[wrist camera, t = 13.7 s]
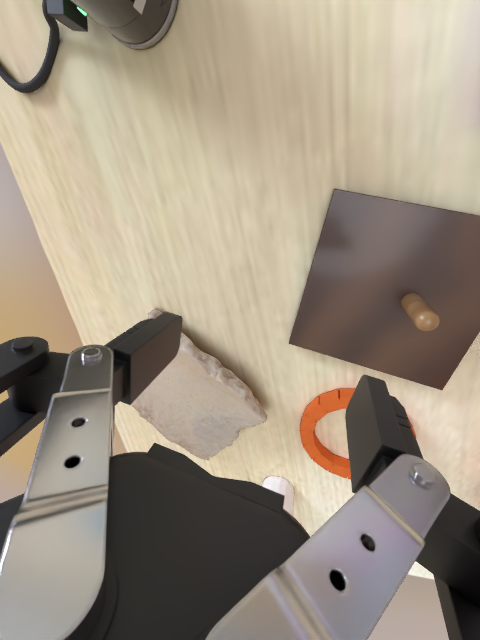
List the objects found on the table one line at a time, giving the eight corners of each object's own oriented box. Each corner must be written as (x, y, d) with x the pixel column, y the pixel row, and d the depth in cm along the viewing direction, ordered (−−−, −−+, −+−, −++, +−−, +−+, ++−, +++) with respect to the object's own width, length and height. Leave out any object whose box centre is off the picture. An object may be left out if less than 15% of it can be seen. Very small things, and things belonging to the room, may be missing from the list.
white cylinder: (255, 472, 50) (245, 510, 44) (293, 474, 47) (287, 515, 41) (264, 499, 52) (255, 539, 46) (301, 503, 49) (296, 546, 43)
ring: (290, 447, 45) (289, 456, 43) (317, 374, 38) (317, 382, 37) (386, 483, 42) (388, 495, 40) (432, 411, 36) (437, 421, 34)
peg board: (289, 339, 38) (280, 369, 31) (334, 189, 29) (335, 185, 23) (438, 384, 34) (465, 429, 27) (537, 227, 26) (610, 235, 19)
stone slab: (170, 289, 41) (109, 367, 49) (143, 303, 34) (77, 391, 42) (285, 394, 43) (209, 453, 51) (282, 427, 36) (194, 489, 44)
